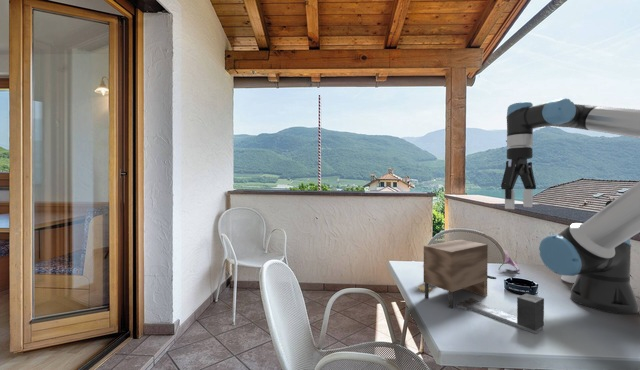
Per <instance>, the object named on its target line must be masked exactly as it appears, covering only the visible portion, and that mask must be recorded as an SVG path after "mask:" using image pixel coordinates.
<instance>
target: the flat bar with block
mask: <svg viewBox="0 0 640 370" xmlns="http://www.w3.org/2000/svg"><path fill="white" fill-rule="evenodd" d="M516 298H517V300H516V302H517V304H516V305H517V307H516V309H517V310H516V311H517V313H516V316H515V315H514V314H510V313H507V312H505V311H502V310H500V309H496V308H493V307H490V306H488V305H485V304H482V300H478V299H475V298H473V297H471V298H468V299H465V300H462V301H460V302H457V303H456V308H458V307H459V308H458V309H461V308H462V309H461V310H463V309H464V310H463V311H468V310H471V309H472V310H471V311H474V312H477V313H479V314H482V315H484V316H487V317H490V318H492V319H495V320H497V321H500V322H503V323H505V324H508V325H511V326H514V327H516V328H519V329H521V330H523V331H526V332H529V333H532V334H534V335H537V334H539V333H540V332H542V331H543V330H544V325H545V323H544V322H545V298H543V297H541V296H537V295H533V294H530V293H524V294H522V295H519V296H517V297H516Z"/></svg>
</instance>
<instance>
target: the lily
mask: <svg viewBox="0 0 640 370" xmlns="http://www.w3.org/2000/svg"><path fill="white" fill-rule="evenodd" d="M501 246H502V245H501ZM502 248H503V250H502V251H503V253H504V254H505V257H504V262H503V263H502V264H501V265H500V266H499V267H498V270H500V269H501V268H502V266H503V265H505V264H508V265H510V266H513V267H514V268H515V270H517V272H518V273H519V274H520V273H521V272H520V270H519V266H518V265H517V264H516V263H515V261H514V260H516V258H514V257H513V258H511V257H510V256H509V254H508V251H507V250H506V249H505V248H504V246H502Z"/></svg>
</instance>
